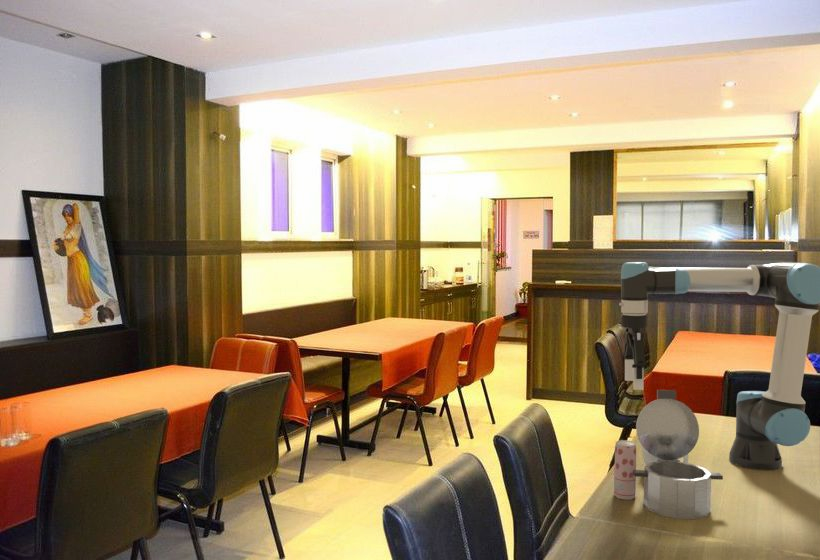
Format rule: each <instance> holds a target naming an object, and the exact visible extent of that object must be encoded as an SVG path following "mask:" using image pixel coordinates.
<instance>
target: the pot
mask: <svg viewBox="0 0 820 560" xmlns="http://www.w3.org/2000/svg"><path fill="white" fill-rule="evenodd" d="M633 475H634V476H635V477H636V478H637V477H640V478H643V505H644V506H645V508H646V509H647V510H648V511H650V512H652V513H654V514H656V515H659V516H663V517H666V518H672V519H677V520H698V519H704V518H707V517H708V516H709V514H710V513H711V507H712V505H711V504H712V503H711V498H712V496H711V495H712V494H711V493H712V480H716V481H717V480H720V481H721V480H723V478H724V477H723V476H724V475H722V473H720V472H710V471H709V470H708V469H707V468H705V467H702V466H699V465H697V464H695V463H690V462H688V463H684V462H683V461H680V462H679V461H656V462H650V463H648V464H647V465H644V468H643V469H642V470H641V469H636V470H633Z"/></svg>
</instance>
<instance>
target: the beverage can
mask: <svg viewBox="0 0 820 560" xmlns="http://www.w3.org/2000/svg"><path fill="white" fill-rule="evenodd" d="M633 470H637V444H636V442H634V441H632V440H628V439H627V440H625V439H620V440H616V441H615V445H614V477H613V479H614V481H613V495H614V496H615V498H617V499H621V500H625V501H626V500H633V499H635V497H636V493H637V492H636V491H637V490H636V484H637V480H636V479H637V477H635V476H634V475H633Z"/></svg>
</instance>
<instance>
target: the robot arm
mask: <svg viewBox="0 0 820 560" xmlns="http://www.w3.org/2000/svg"><path fill="white" fill-rule="evenodd" d="M620 272H621V274H620V283H621V284H620V290H621V291H620V292H621V293H620V294H621V298H620V302H619V305H618V306H619V307H621V308H620V310H621V311H620V312H621V313H622V314H621V315H620V326H621V327H622V328H624V330H625V337H624V345H623V353H622V355H623V356H624V381H625V382H628V381H629V382H632V383H633V384H632V387H633V388H632V390H634V391H644V386H645V385H644V383H645V382H644V380H645V379H644V378H645V377H644V369H645V367H646V355H645V348H644V347H645V346H644V345H645V344H644V333H643V332H641V329H646V328H647V327H648V320H649V319H648V315H647V314H648V313H649V310H648V309H649V307H648V306H649V298H648V296H649V295H653V294H655V295H658V294H659V295H669V294H670V295H679V294H686V293H687V292H712V293H713V292H715V293H716V292H720V293H722V292H724V293H725V292H728V293H731V292H732V293H734V292H735V293H747V294H748V295H750V296H760V297H768V298H773V299H775V300H774V306H775V308H776V309H777V310H778V320H777V325H776V326H777V327H776V332H775V333H776V334H775V342H774V349H773V354H772V362H771V363H772V364H771V368H770V369H771V370H770V377H769V384H768V389H767V390H766V391H762V390H746V391H745V390H743V391H739V392H738V393H737V396H736V403H735V404H736V408H735V409H736V412H735V413H736V415H735V416H736V418H735V438H734V440H733V443H732V446H731V448H730V450H729V453H728V454H729V456H728V460H729V461H730V462H731V463H732V464H734V465H736V466H739V467H743V468H747V469H753V470H763V471H774V470H779V469H781V468H782V467H783V459H782V454H781V452H780V449H779V446H783V447H794V446H797V445H798V444H800V443H802V442H804V440H805V439H806V438H807V437H808V435H809V433H810V431H811V421H810V419H809V417H808V415H807V414H806V412H805V409H806V401H805V400H804V398H803V397H802V387H803V381H804V376H805V375H804V374H805V370H806V369H805V367H806V360H807V354H808V348H809V339H810V332H811V326H812V319H813V318H812V317H813V316H814V315H815V314H817V313H818V312H819V311H820V266H819V265H816V264H814V263H807V262H787V261H786V262H785V261H784V262H783V261H781V262H773V263H764V264H749V265H748V266H747V267H689V266H688V267H685V266H684V267H677V266H676V267H675V266H671V267H670V266H669V267H667V266H665V267H663V266H661V267H660V266H649V265H648V263H647V262H645V261H643V262H642V261H636V262H635V261H632V262H631V261H629V262H624V263H623V264H622V265H621V271H620ZM778 445H779V446H778Z"/></svg>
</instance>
